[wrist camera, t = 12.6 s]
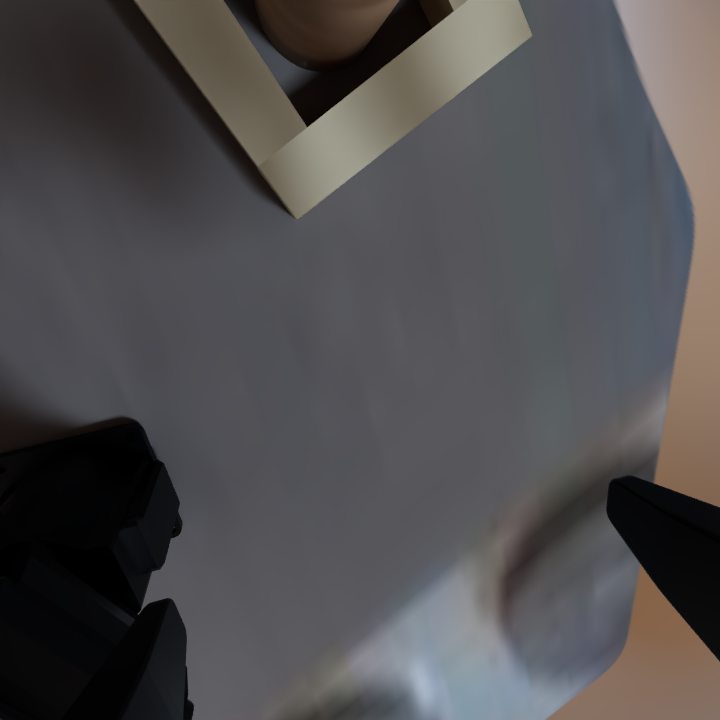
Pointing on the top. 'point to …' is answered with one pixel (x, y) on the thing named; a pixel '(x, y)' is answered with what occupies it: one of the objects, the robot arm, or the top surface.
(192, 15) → the birch hole board
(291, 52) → the cherry wood peg
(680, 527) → the robot arm
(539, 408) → the top surface
